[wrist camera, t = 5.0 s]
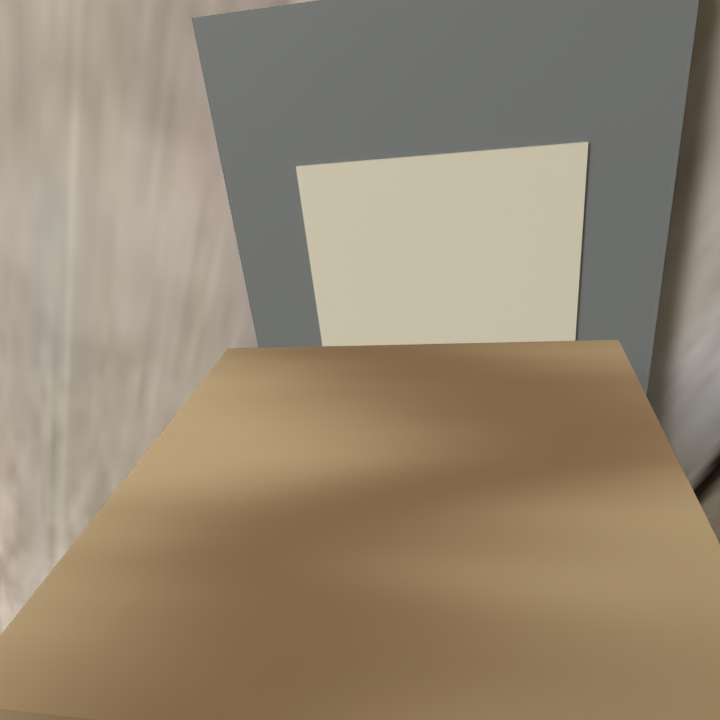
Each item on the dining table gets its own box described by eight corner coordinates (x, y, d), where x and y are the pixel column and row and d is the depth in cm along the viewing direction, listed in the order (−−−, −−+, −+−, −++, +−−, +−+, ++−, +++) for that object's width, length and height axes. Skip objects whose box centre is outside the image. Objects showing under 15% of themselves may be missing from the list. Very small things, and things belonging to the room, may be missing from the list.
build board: (687, -46, 13) (707, -54, 12) (624, 473, 19) (634, 500, 18) (211, 19, 15) (189, 18, 14) (296, 467, 21) (286, 491, 20)
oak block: (618, 340, 7) (847, 802, 3) (589, 624, 9) (691, 1123, 5) (228, 348, 8) (-53, 702, 4) (287, 604, 10) (153, 1010, 6)
